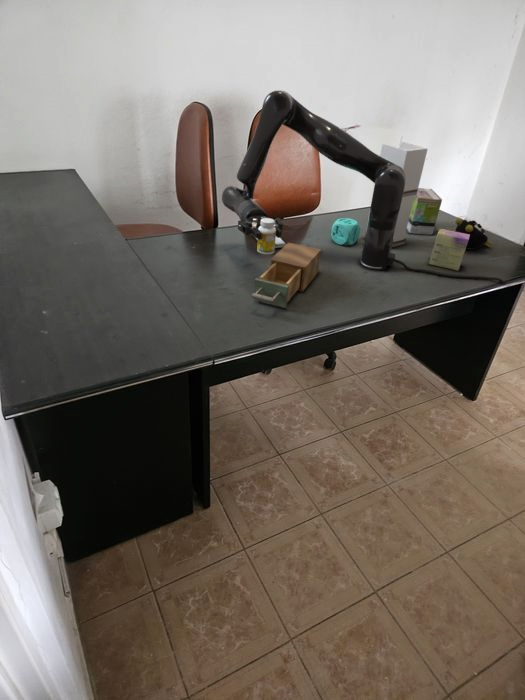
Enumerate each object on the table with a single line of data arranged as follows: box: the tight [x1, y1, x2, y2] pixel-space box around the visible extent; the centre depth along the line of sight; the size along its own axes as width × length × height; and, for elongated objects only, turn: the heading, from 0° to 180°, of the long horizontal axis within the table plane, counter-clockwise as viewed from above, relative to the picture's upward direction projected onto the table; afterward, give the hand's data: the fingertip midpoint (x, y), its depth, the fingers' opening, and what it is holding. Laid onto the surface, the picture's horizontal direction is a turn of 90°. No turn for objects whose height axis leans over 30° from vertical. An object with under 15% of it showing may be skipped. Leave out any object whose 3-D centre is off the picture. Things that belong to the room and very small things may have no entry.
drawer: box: [251, 263, 302, 309], centre depth 140 cm, size 20×10×7 cm, turn 156°
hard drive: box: [253, 236, 287, 249], centre depth 179 cm, size 2×8×12 cm
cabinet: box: [269, 242, 322, 293], centre depth 153 cm, size 15×11×8 cm
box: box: [428, 228, 470, 272], centre depth 167 cm, size 10×6×12 cm, turn 65°
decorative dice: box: [330, 217, 361, 246], centre depth 181 cm, size 8×8×8 cm
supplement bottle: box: [256, 217, 276, 255], centre depth 141 cm, size 5×5×10 cm
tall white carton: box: [364, 141, 428, 248], centre depth 176 cm, size 11×11×35 cm
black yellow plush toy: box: [454, 217, 493, 250], centre depth 181 cm, size 12×15×15 cm
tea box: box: [406, 187, 443, 235], centre depth 195 cm, size 15×10×15 cm, turn 179°
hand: (269, 235), depth 138 cm, fingers closed on supplement bottle, 5 cm apart
